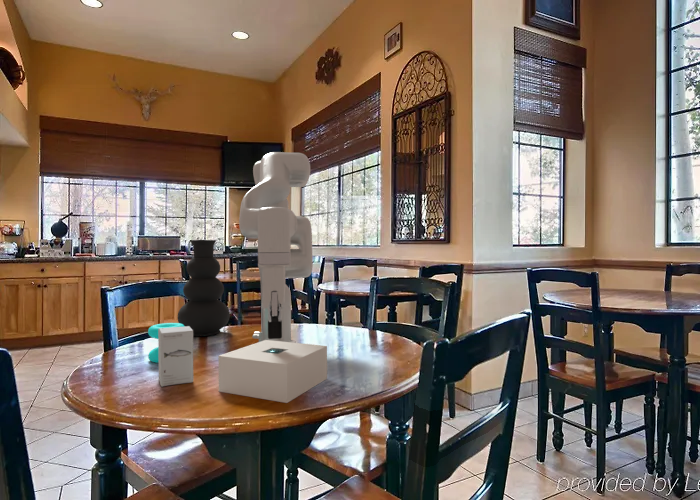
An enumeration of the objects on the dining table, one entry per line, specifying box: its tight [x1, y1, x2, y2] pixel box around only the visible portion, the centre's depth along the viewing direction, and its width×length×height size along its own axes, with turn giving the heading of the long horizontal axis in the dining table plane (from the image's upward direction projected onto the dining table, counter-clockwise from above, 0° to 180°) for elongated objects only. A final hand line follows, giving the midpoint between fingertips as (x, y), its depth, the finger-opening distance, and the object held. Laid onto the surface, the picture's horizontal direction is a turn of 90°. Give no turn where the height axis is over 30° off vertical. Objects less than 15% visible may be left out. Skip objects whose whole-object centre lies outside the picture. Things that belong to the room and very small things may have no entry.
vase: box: [177, 239, 231, 337], centre depth 161 cm, size 18×18×35 cm
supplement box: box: [157, 326, 194, 387], centre depth 105 cm, size 7×7×13 cm
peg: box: [266, 349, 284, 354], centre depth 102 cm, size 4×4×8 cm
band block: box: [217, 340, 328, 404], centre depth 102 cm, size 18×18×8 cm
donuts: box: [147, 322, 185, 364], centre depth 125 cm, size 10×10×10 cm
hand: (275, 337), depth 102 cm, fingers closed
